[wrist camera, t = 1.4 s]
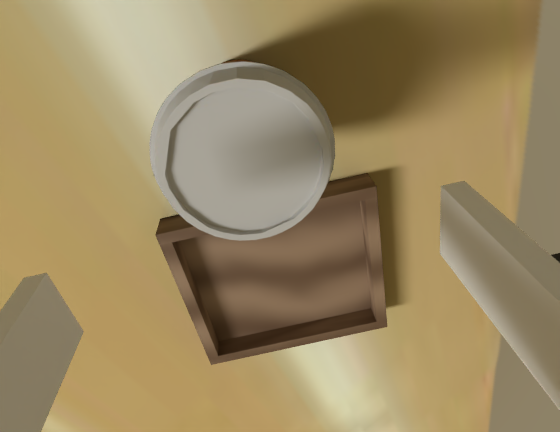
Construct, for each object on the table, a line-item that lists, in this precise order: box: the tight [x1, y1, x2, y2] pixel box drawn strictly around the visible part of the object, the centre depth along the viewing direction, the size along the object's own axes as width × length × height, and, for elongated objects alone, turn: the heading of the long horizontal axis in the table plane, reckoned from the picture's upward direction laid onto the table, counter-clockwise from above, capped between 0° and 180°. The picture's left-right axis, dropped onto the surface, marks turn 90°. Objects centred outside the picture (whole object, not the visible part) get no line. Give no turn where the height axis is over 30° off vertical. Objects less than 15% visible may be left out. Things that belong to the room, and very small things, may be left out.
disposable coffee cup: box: [150, 59, 335, 241], centre depth 25 cm, size 10×10×12 cm
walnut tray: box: [156, 173, 387, 365], centre depth 37 cm, size 16×18×2 cm
